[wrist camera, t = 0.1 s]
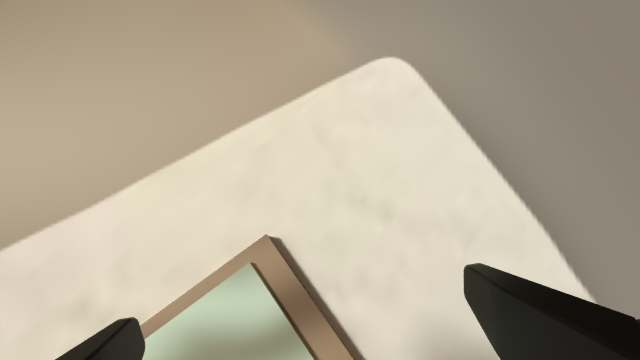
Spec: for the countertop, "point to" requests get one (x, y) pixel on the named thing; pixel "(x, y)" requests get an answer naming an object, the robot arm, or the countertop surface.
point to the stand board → (244, 316)
